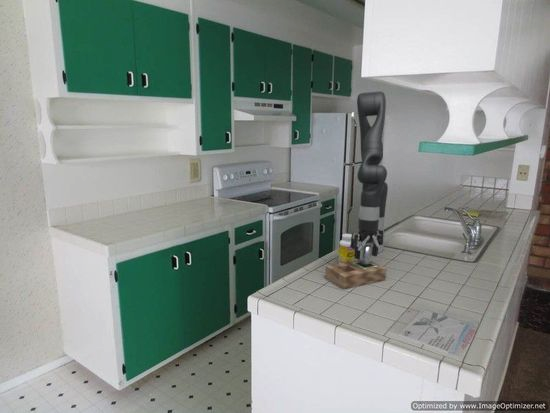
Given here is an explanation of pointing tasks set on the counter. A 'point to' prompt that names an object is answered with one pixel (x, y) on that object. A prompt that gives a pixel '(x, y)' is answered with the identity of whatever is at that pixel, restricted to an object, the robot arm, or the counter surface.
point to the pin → (366, 255)
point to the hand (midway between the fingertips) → (365, 257)
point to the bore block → (354, 274)
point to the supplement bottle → (345, 249)
